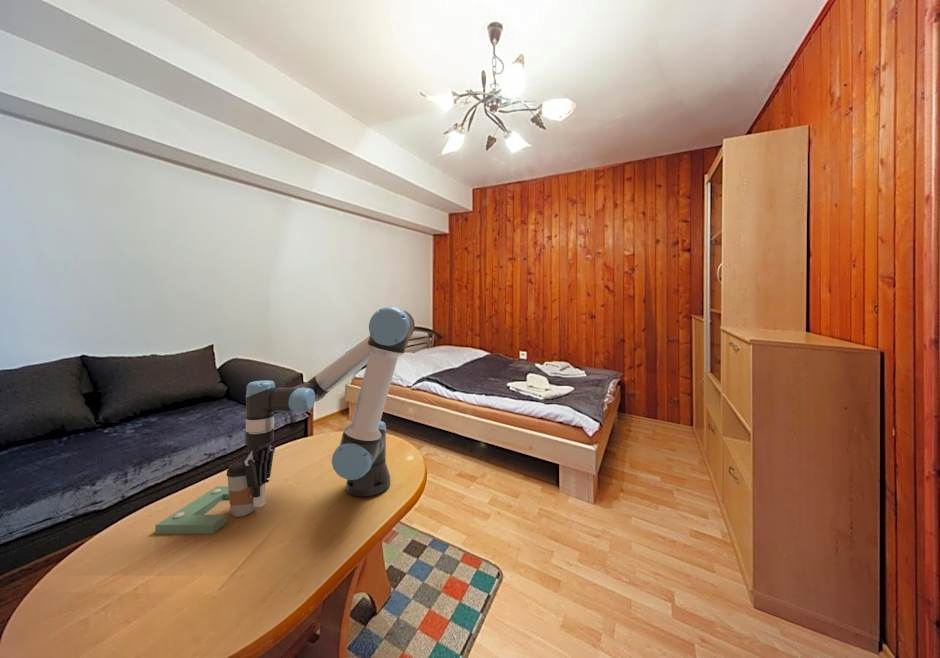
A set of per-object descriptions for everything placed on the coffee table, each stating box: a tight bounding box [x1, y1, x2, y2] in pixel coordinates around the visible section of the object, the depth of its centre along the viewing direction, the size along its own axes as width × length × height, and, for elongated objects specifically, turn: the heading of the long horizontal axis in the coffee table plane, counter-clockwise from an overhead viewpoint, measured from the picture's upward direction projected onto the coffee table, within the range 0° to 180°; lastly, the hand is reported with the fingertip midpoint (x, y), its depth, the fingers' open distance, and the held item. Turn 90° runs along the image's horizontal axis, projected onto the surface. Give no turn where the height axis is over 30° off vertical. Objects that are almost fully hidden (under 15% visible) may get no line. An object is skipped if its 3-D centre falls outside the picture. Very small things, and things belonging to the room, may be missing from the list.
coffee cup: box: [226, 459, 256, 518], centre depth 101 cm, size 8×8×15 cm
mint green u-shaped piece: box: [155, 486, 229, 535], centre depth 101 cm, size 16×22×3 cm
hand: (259, 505), depth 101 cm, fingers closed, pressing on coffee cup
